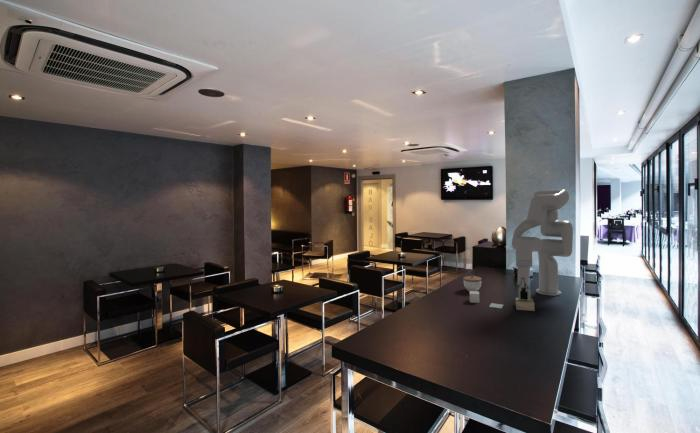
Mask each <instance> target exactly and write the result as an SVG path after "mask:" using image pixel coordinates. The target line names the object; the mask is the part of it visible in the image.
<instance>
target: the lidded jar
mask: <svg viewBox="0 0 700 433" xmlns="http://www.w3.org/2000/svg"><path fill="white" fill-rule="evenodd" d="M462 279H463V285H464V288H465V289H466V290H467V291H468V292H470V291H478V292H479V290H480V289H481V287H482V277H481V276H477V275H476V276H475V275H469V276H468V275H466V276H463V278H462Z"/></svg>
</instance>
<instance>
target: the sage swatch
mask: <svg viewBox="0 0 700 433" xmlns="http://www.w3.org/2000/svg"><path fill="white" fill-rule="evenodd" d="M503 307H504V304H501V303H500V304H499V303H494V302H491V303H490V305H489V306H488V308H491V309H492V308H493V309H501V310H502V309H503Z"/></svg>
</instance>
